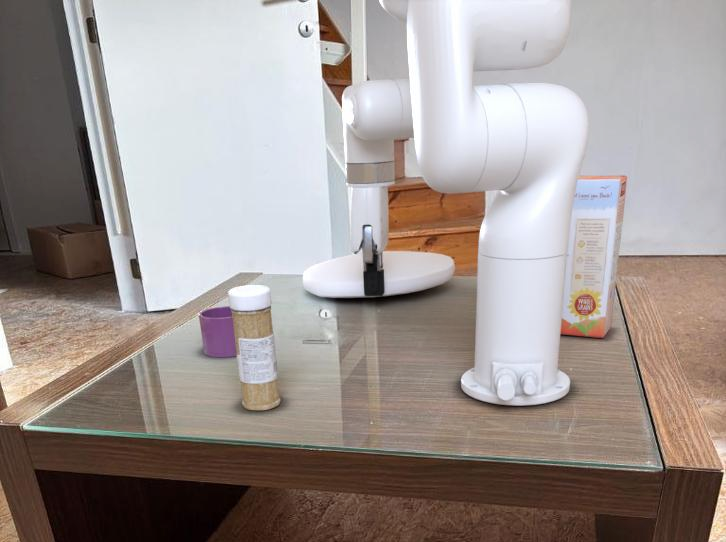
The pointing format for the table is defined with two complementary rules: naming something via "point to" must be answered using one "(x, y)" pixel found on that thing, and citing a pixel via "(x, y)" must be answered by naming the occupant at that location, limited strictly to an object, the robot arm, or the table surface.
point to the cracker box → (593, 255)
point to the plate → (399, 274)
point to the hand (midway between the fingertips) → (374, 294)
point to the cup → (218, 332)
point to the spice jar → (255, 346)
